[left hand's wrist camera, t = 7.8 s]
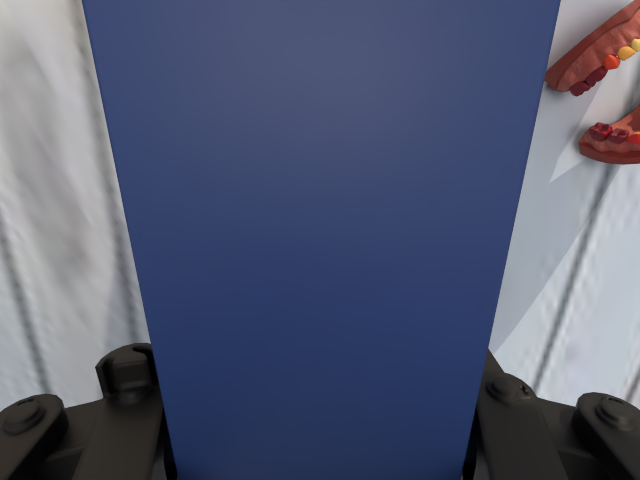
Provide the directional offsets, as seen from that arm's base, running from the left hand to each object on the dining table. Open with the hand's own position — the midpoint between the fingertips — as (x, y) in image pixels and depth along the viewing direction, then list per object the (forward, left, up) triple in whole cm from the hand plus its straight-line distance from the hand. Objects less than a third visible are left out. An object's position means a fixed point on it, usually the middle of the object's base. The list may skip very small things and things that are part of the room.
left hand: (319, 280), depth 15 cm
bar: (-2, +9, -1) cm, 10 cm away
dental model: (+14, +11, -10) cm, 21 cm away
